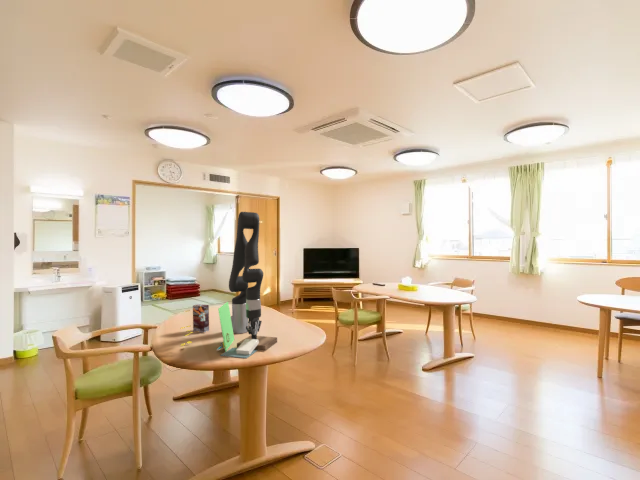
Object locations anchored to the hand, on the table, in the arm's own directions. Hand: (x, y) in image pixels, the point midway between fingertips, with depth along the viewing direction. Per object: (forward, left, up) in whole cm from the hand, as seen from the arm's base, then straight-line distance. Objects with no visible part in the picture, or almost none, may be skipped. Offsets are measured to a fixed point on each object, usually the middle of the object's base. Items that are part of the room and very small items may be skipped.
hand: (254, 341), depth 169 cm
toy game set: (-25, -5, -3) cm, 26 cm away
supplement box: (-46, +19, -3) cm, 50 cm away
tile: (0, -6, -1) cm, 6 cm away
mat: (-3, -9, -3) cm, 10 cm away
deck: (0, +4, -3) cm, 5 cm away
